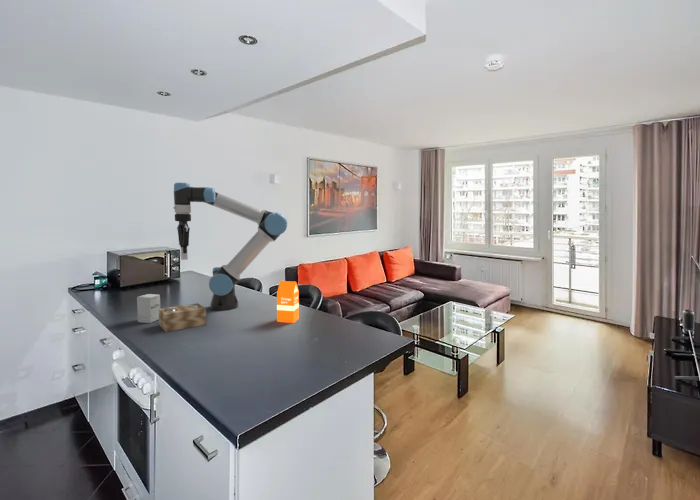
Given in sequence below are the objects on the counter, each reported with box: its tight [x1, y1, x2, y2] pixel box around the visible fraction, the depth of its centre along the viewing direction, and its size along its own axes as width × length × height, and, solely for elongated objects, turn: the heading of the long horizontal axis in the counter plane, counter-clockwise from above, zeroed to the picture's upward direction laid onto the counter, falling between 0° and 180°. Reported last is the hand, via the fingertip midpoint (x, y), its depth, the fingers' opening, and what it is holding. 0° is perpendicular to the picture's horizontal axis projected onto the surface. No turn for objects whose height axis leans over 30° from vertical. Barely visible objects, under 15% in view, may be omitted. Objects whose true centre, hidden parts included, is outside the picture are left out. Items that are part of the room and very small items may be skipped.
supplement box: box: [136, 293, 161, 324], centre depth 180 cm, size 7×7×13 cm
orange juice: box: [276, 280, 300, 324], centre depth 184 cm, size 8×9×20 cm
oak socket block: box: [158, 302, 207, 333], centre depth 174 cm, size 18×12×8 cm, turn 129°
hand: (184, 259), depth 188 cm, fingers closed
